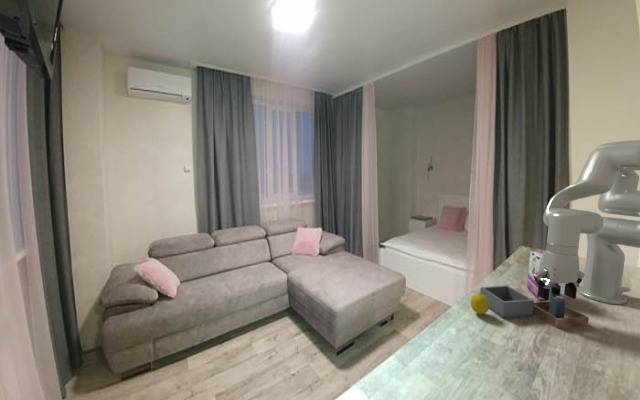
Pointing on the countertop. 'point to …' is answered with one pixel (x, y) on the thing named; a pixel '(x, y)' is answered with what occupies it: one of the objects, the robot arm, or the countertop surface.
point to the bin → (508, 302)
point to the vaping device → (556, 302)
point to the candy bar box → (534, 268)
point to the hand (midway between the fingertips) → (556, 297)
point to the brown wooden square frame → (573, 320)
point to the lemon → (479, 303)
